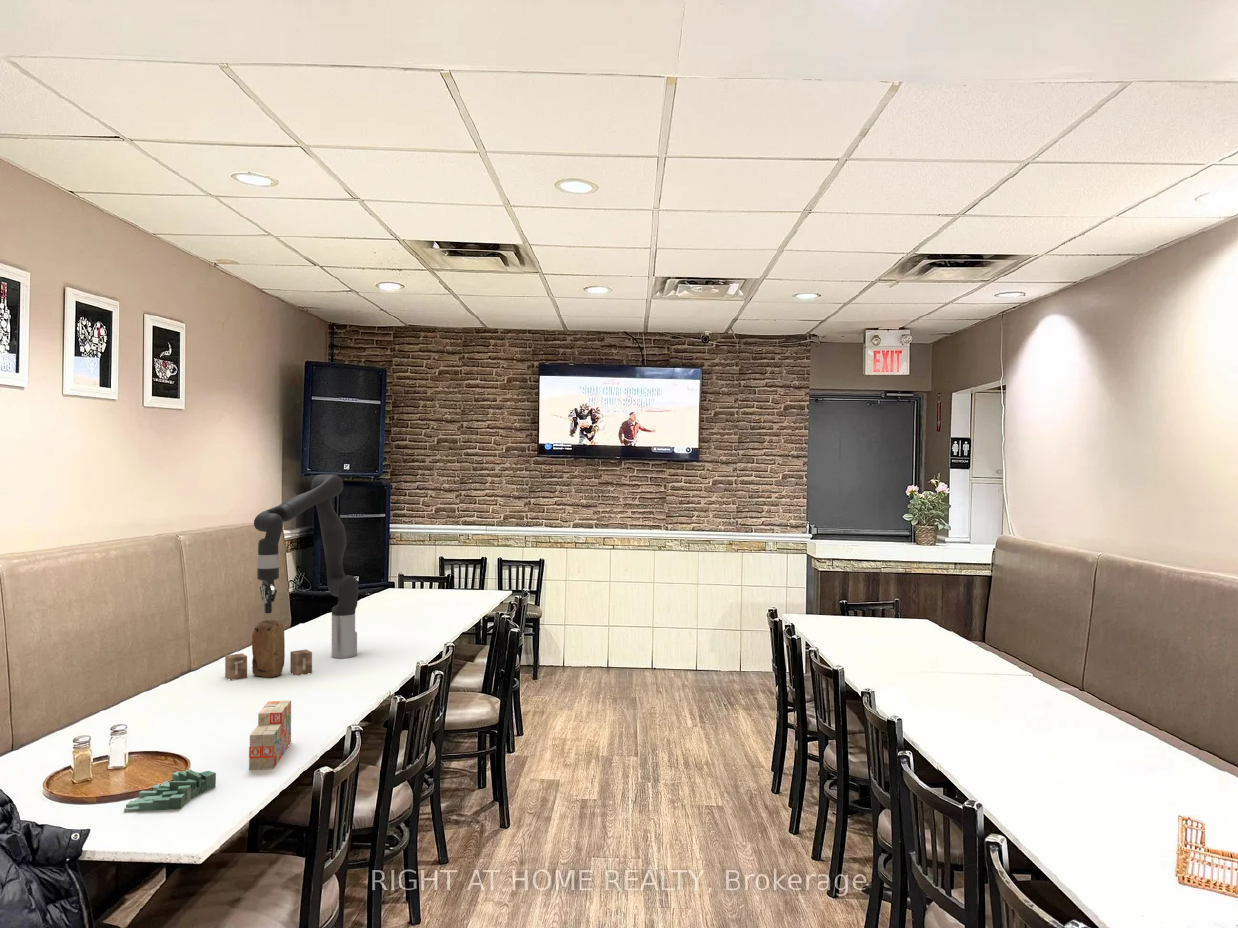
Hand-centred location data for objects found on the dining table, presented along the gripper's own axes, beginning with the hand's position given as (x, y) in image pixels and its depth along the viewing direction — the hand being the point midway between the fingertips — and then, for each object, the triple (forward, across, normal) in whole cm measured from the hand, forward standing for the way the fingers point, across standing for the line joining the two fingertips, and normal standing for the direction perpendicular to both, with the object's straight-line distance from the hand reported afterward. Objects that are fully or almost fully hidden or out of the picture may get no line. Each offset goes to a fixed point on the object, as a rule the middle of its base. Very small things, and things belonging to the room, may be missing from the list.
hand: (267, 612), depth 315 cm
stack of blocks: (+24, -89, +26) cm, 96 cm away
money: (+24, -102, +52) cm, 117 cm away
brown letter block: (+23, +4, +10) cm, 26 cm away
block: (+24, 0, 0) cm, 24 cm away
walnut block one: (+23, -4, -11) cm, 26 cm away
